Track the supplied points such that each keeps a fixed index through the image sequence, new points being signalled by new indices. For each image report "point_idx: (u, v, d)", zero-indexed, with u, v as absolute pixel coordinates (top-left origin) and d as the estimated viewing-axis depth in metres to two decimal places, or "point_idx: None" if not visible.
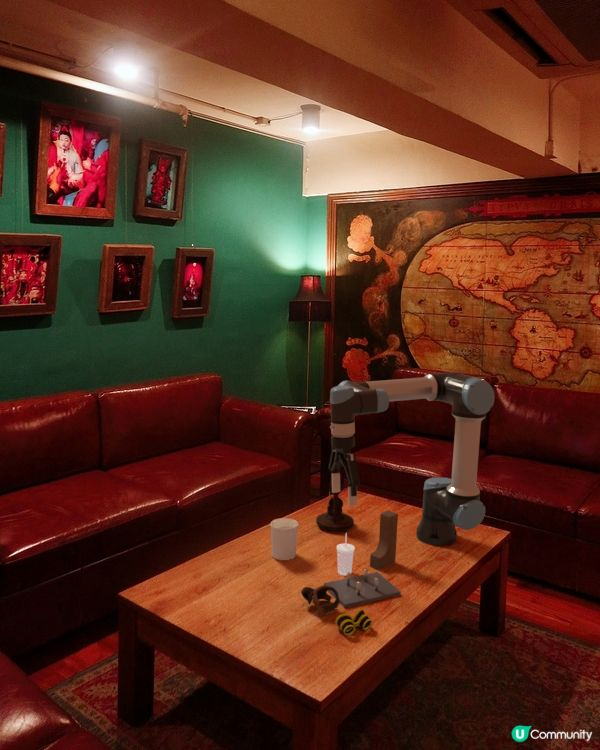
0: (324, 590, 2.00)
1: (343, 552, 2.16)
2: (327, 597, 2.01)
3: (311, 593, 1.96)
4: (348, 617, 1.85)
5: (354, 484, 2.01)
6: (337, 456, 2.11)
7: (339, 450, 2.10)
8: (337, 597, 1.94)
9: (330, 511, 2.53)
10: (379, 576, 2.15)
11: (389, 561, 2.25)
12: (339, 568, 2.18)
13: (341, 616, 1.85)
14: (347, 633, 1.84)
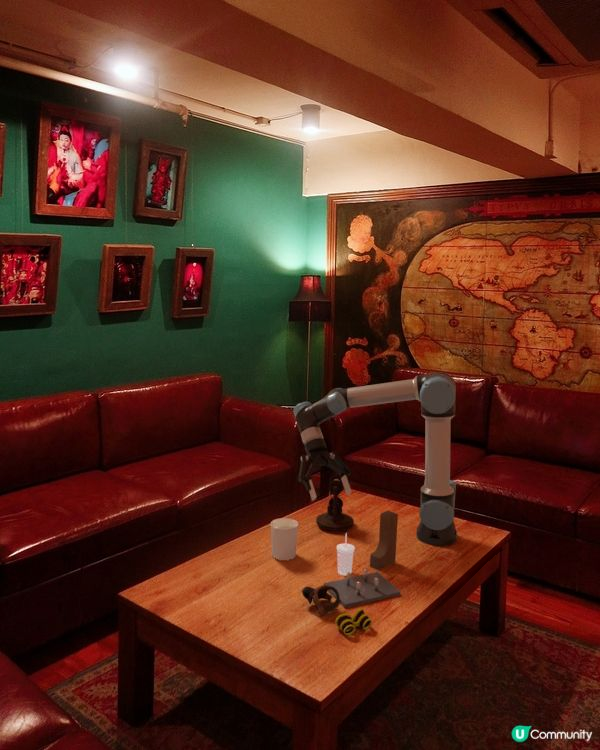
0: (325, 590, 2.00)
1: (343, 552, 2.16)
2: (328, 597, 2.01)
3: (312, 593, 1.96)
4: (348, 617, 1.85)
5: (298, 480, 2.25)
6: None
7: None
8: (338, 597, 1.94)
9: (330, 511, 2.53)
10: (379, 576, 2.15)
11: (389, 561, 2.25)
12: (339, 568, 2.18)
13: (341, 616, 1.85)
14: (347, 633, 1.84)
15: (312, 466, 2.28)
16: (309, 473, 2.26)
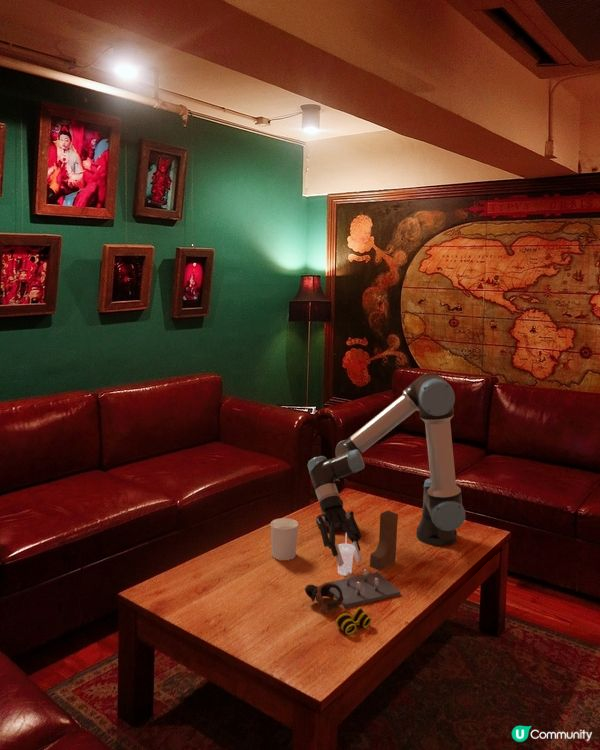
0: (327, 587, 2.01)
1: (343, 552, 2.16)
2: (330, 594, 2.03)
3: (315, 590, 1.97)
4: (348, 616, 1.86)
5: (324, 544, 2.18)
6: None
7: None
8: (341, 594, 1.96)
9: None
10: (379, 576, 2.15)
11: (389, 561, 2.25)
12: (339, 568, 2.18)
13: (342, 616, 1.85)
14: (348, 633, 1.84)
15: (332, 528, 2.20)
16: (333, 536, 2.18)
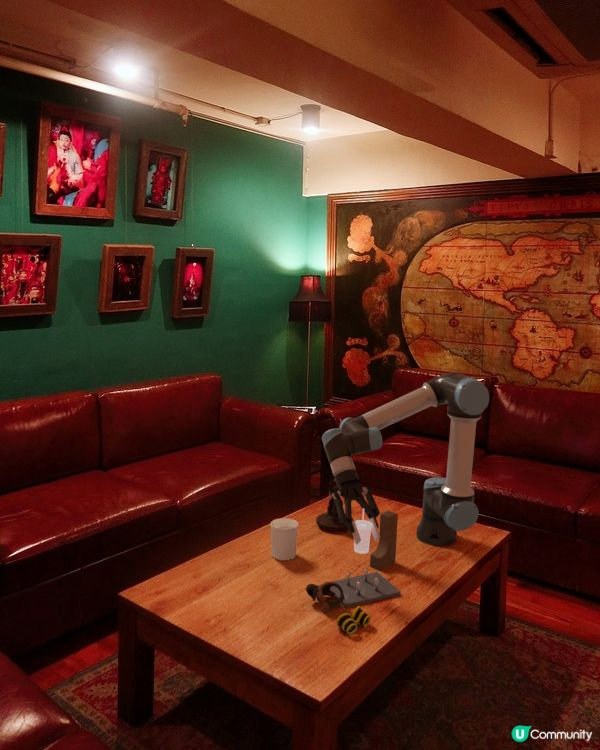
0: (328, 586, 2.02)
1: (360, 529, 2.02)
2: (331, 593, 2.03)
3: (316, 590, 1.98)
4: (349, 616, 1.86)
5: (340, 521, 2.04)
6: None
7: None
8: (342, 593, 1.96)
9: (330, 511, 2.53)
10: (379, 576, 2.15)
11: (389, 561, 2.25)
12: (356, 546, 2.04)
13: (342, 616, 1.85)
14: (349, 632, 1.84)
15: (349, 503, 2.06)
16: (349, 512, 2.04)
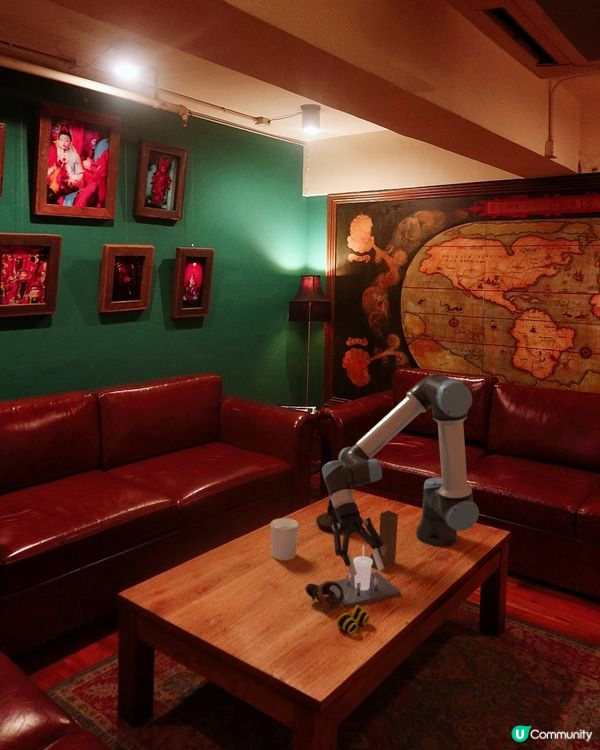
0: (327, 586, 2.02)
1: (360, 565, 2.04)
2: (330, 593, 2.04)
3: (316, 589, 1.98)
4: (349, 616, 1.86)
5: (336, 553, 2.05)
6: None
7: None
8: (342, 592, 1.97)
9: (330, 511, 2.53)
10: (379, 576, 2.15)
11: (389, 561, 2.25)
12: None
13: (342, 616, 1.86)
14: (350, 632, 1.85)
15: (347, 536, 2.07)
16: (346, 545, 2.05)
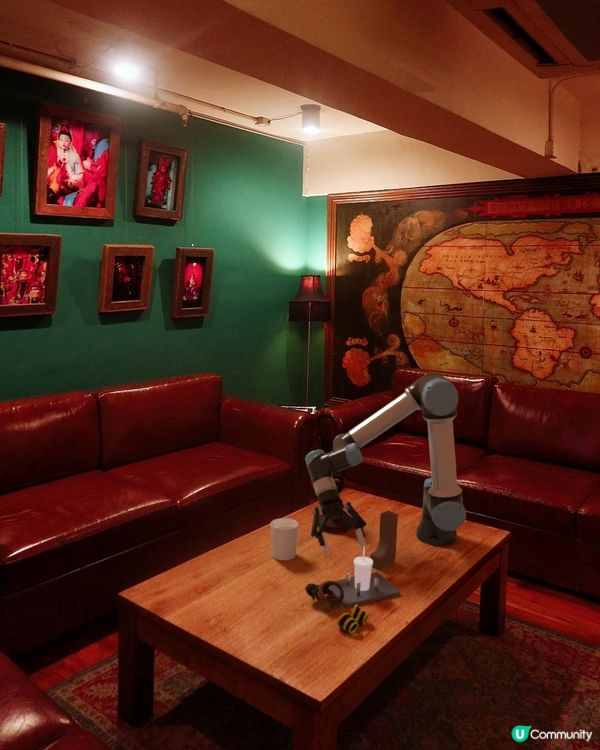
0: (327, 585, 2.03)
1: (361, 566, 2.04)
2: (330, 592, 2.04)
3: (316, 589, 1.98)
4: (349, 615, 1.86)
5: (311, 534, 2.16)
6: None
7: None
8: (342, 591, 1.97)
9: None
10: (379, 576, 2.15)
11: (389, 561, 2.25)
12: None
13: (343, 616, 1.86)
14: (351, 631, 1.85)
15: (325, 519, 2.19)
16: (322, 527, 2.17)
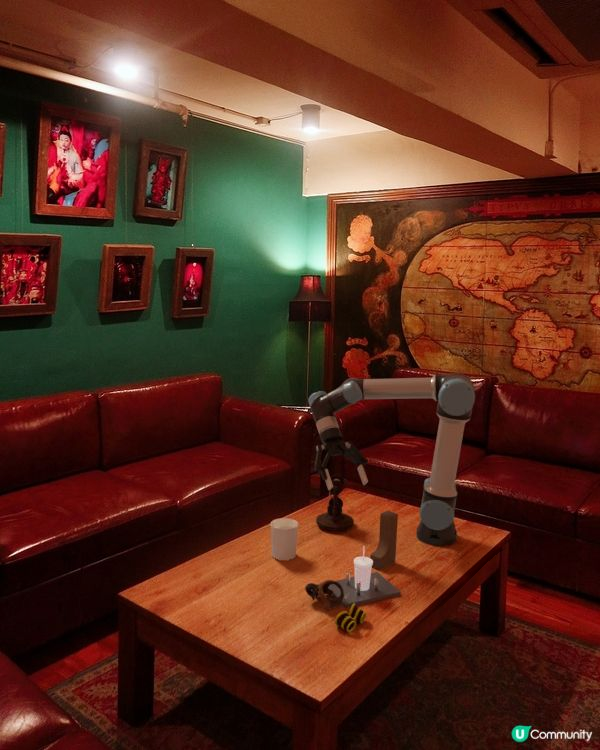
0: (326, 585, 2.03)
1: (361, 566, 2.04)
2: (329, 591, 2.04)
3: (316, 589, 1.98)
4: (347, 614, 1.87)
5: (314, 469, 2.23)
6: None
7: None
8: (342, 591, 1.98)
9: (330, 511, 2.53)
10: (379, 576, 2.15)
11: (389, 561, 2.25)
12: None
13: (340, 614, 1.86)
14: (348, 630, 1.85)
15: (328, 455, 2.26)
16: (325, 462, 2.23)
